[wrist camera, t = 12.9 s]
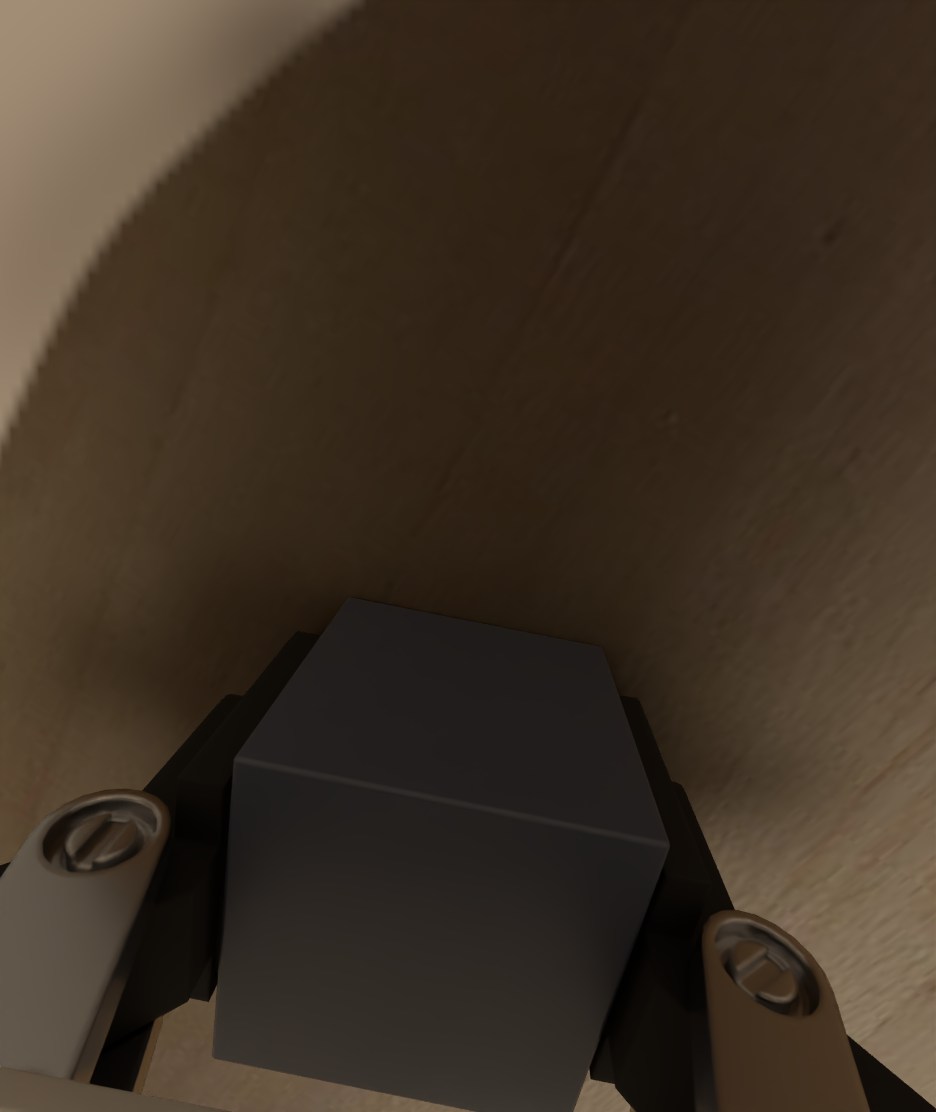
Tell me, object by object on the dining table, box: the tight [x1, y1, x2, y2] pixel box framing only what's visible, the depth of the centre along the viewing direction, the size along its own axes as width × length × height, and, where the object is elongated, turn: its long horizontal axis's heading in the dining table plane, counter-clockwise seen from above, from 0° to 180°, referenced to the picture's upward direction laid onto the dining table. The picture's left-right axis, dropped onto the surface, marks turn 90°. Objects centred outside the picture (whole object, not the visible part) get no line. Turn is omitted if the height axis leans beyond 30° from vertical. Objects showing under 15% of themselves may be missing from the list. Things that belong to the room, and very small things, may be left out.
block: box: [212, 598, 670, 1112], centre depth 9 cm, size 4×4×4 cm
